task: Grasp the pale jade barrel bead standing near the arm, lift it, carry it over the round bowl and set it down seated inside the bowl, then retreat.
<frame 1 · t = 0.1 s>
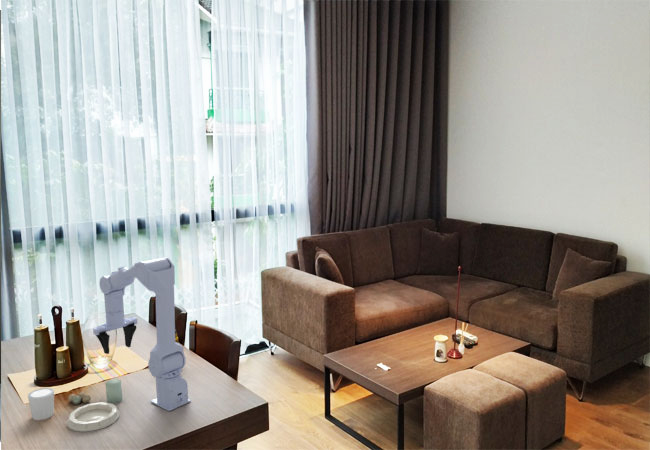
hand: (117, 349, 186), 10 cm above the table, fingers open, 7 cm apart
bead pile: (81, 402, 171), on the table
condiment: (168, 362, 200), on the table
white cylinder: (43, 415, 163), on the table
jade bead: (114, 400, 171), on the table
round bowl: (93, 419, 160), on the table
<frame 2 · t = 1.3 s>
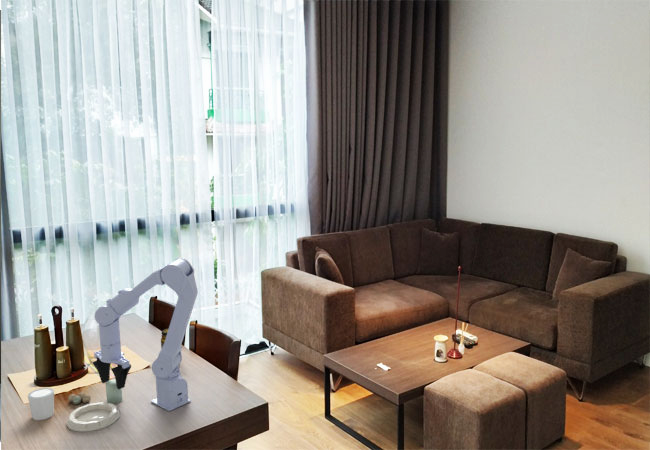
hand: (113, 384, 171), 5 cm above the table, fingers open, 7 cm apart
nothing on the table moved.
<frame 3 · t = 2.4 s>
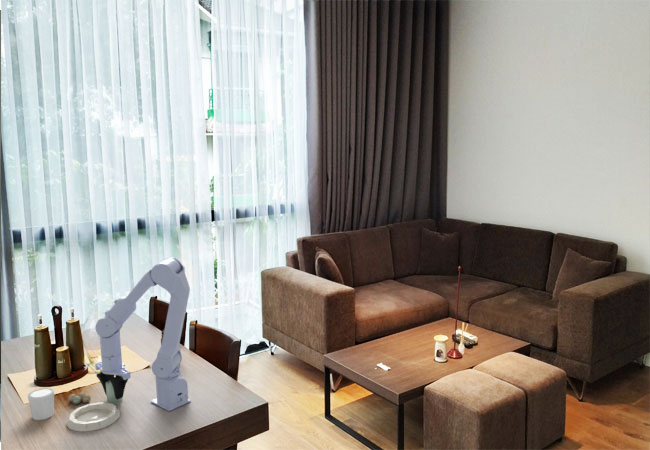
hand: (114, 396, 171), 1 cm above the table, fingers closed on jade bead, 4 cm apart
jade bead: (114, 400, 171), on the table, touching gripper
everything else where it was.
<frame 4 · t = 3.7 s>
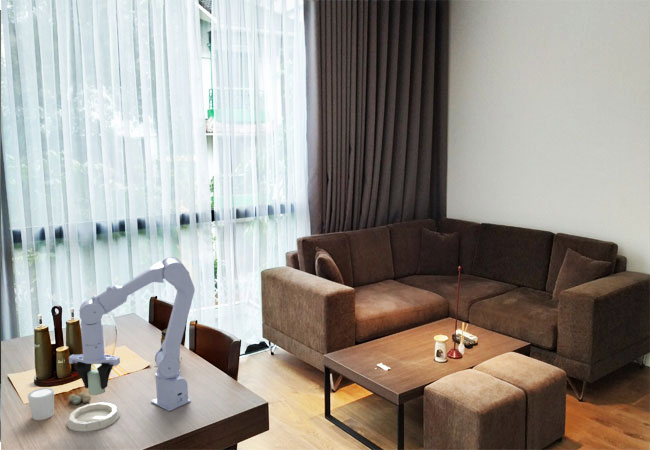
hand: (96, 387, 161), 8 cm above the table, fingers closed on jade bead, 4 cm apart
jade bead: (96, 391, 162), point 7 cm above the table, touching gripper
everything else where it was.
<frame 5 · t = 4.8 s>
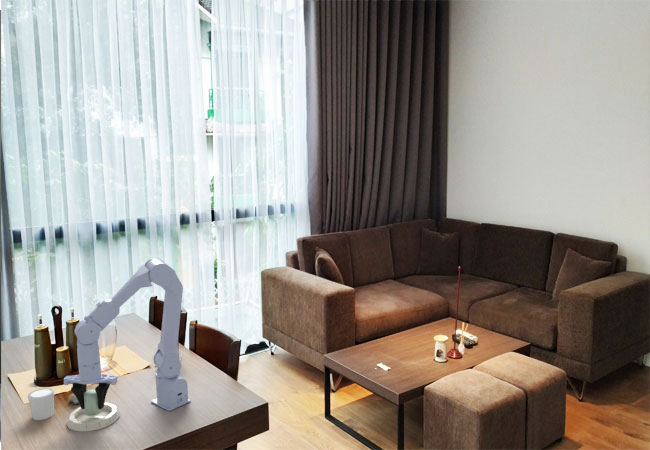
hand: (92, 407, 160), 4 cm above the table, fingers closed on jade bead, 4 cm apart
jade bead: (93, 412, 160), point 2 cm above the table, touching gripper
everything else where it was.
when the fingers open (3 cm above the table, at t = 5.3 s): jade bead drops 1 cm, resting on round bowl.
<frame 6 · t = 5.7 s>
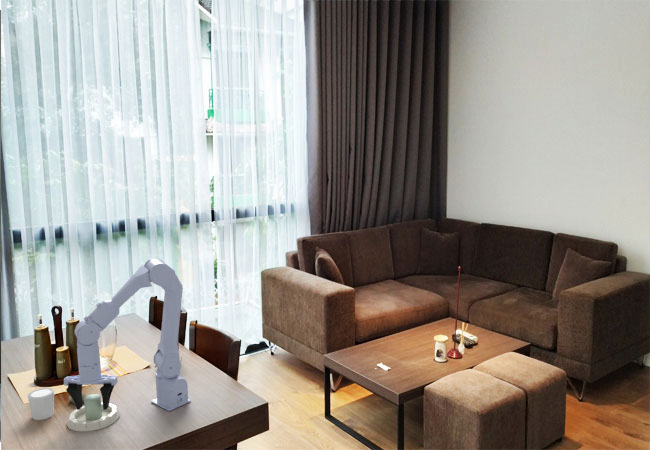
hand: (93, 408, 160), 3 cm above the table, fingers open, 7 cm apart
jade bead: (93, 417, 160), point 1 cm above the table, touching round bowl
everything else where it was.
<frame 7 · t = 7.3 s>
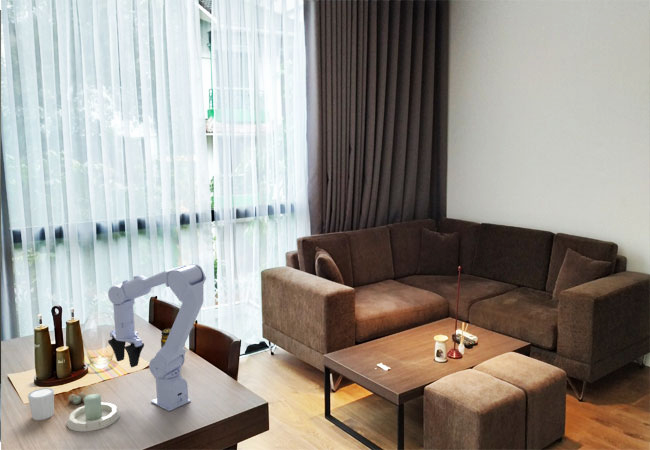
hand: (127, 363, 175), 10 cm above the table, fingers open, 7 cm apart
nothing on the table moved.
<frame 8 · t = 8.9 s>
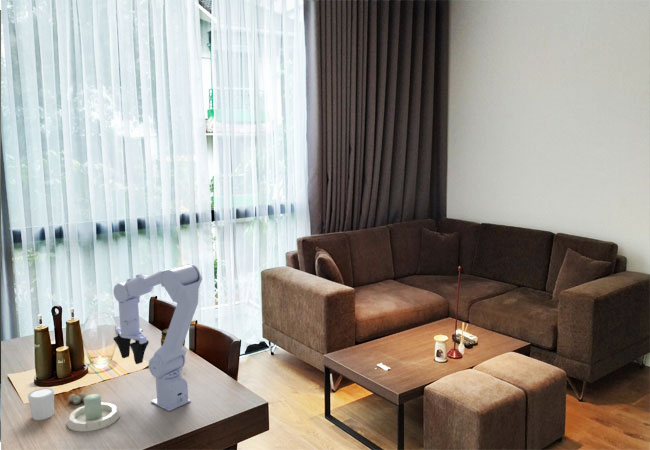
hand: (132, 360, 177), 10 cm above the table, fingers open, 7 cm apart
nothing on the table moved.
at the end: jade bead 0.1 cm off-centre on the round bowl, point 0.6 cm above the round bowl's base; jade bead tilted 0°; the gripper is holding nothing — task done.
